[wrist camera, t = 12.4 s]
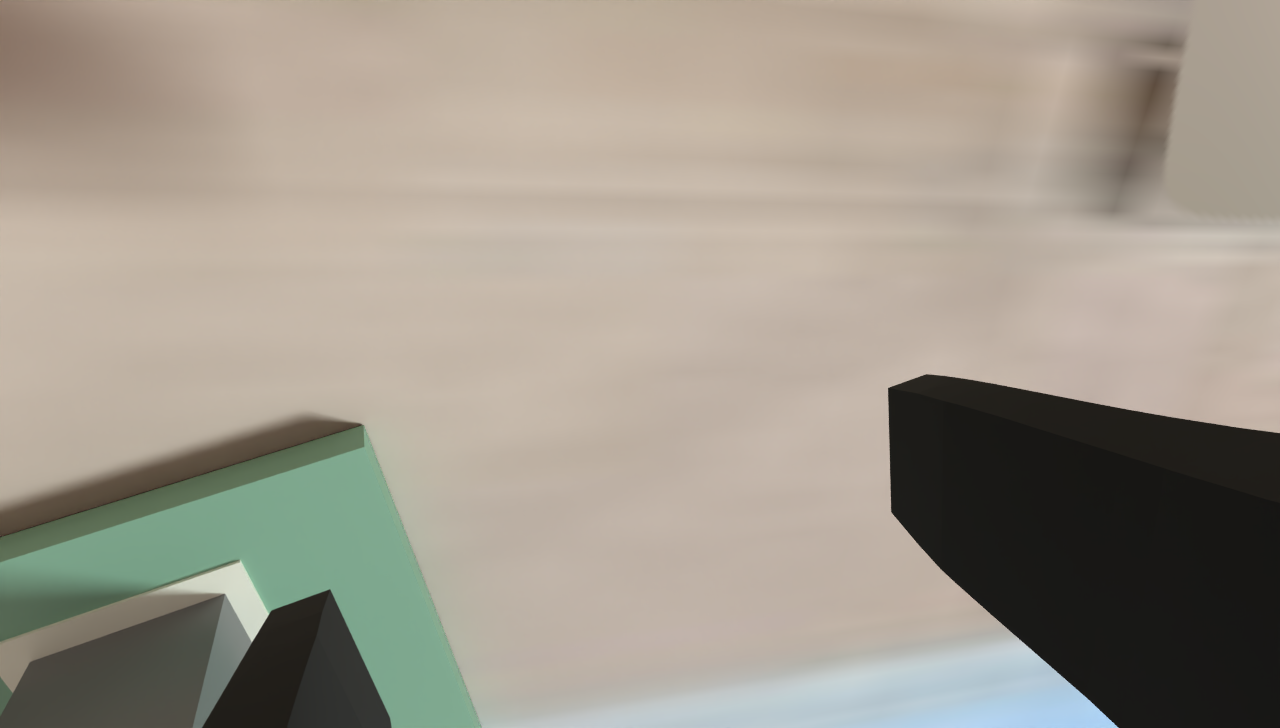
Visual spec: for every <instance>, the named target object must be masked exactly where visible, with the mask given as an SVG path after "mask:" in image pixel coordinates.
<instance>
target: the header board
mask: <svg viewBox="0 0 1280 728" xmlns="http://www.w3.org/2000/svg"><path fill="white" fill-rule="evenodd" d="M329 589H330V590H331V592H332V594H333V596H334V598H335V601H336V603H337V605H338V607H339V609H340V611H341V613H342V616H343V618H344V620H345V622H346V624H347V626H348V628H349V631H350V633H351V635H352V637H353V639H354V641H355V643H356V646H357V648H358V650H359V652H360V654H361V656H362V659H363V661H364V663H365V665H366V667H367V669H368V671H369V674H370V676H371V678H372V680H373V682H374V684H375V686H376V689H377V691H378V693H379V695H380V697H381V699H382V702H383V704H384V706H385V708H386V710H387V712H388V714H389V717H390V720H391V727H392V728H481V725H480V722H479V720H478V717H477V715H476V712H475V710H474V707H473V704H472V702H471V699H470V697H469V694H468V692H467V689H466V686H465V684H464V681H463V679H462V676H461V674H460V671H459V668H458V666H457V663H456V661H455V658H454V656H453V653H452V650H451V648H450V645H449V643H448V640H447V638H446V635H445V632H444V630H443V627H442V625H441V622H440V620H439V617H438V615H437V612H436V609H435V607H434V604H433V602H432V599H431V597H430V594H429V591H428V589H427V586H426V584H425V581H424V579H423V576H422V573H421V571H420V568H419V566H418V563H417V561H416V558H415V555H414V553H413V550H412V548H411V545H410V543H409V540H408V537H407V535H406V532H405V530H404V527H403V525H402V522H401V519H400V517H399V514H398V512H397V509H396V507H395V504H394V502H393V499H392V496H391V494H390V491H389V489H388V486H387V484H386V481H385V478H384V476H383V473H382V471H381V468H380V466H379V463H378V460H377V458H376V455H375V453H374V450H373V448H372V445H371V442H370V440H369V437H368V435H367V432H366V430H365V427H364V425H362V426H358V427H355V428H352V429H349V430H346V431H342V432H339V433H336V434H333V435H329V436H326V437H323V438H320V439H316V440H313V441H310V442H307V443H304V444H300V445H297V446H294V447H291V448H287V449H284V450H281V451H278V452H274V453H271V454H268V455H265V456H262V457H258V458H255V459H252V460H249V461H245V462H242V463H239V464H236V465H232V466H229V467H226V468H223V469H220V470H216V471H213V472H210V473H207V474H203V475H200V476H197V477H194V478H190V479H187V480H184V481H181V482H178V483H174V484H171V485H168V486H165V487H161V488H158V489H155V490H152V491H148V492H145V493H142V494H139V495H136V496H132V497H129V498H126V499H123V500H119V501H116V502H113V503H110V504H106V505H103V506H100V507H97V508H94V509H90V510H87V511H84V512H81V513H77V514H74V515H71V516H68V517H64V518H61V519H58V520H55V521H52V522H48V523H45V524H42V525H39V526H35V527H32V528H29V529H26V530H22V531H19V532H16V533H13V534H10V535H6V536H3V537H0V716H1V714H2V712H3V710H4V709H5V707H6V705H7V703H8V701H9V699H10V698H11V696H12V694H13V692H14V690H15V688H16V687H17V685H18V683H19V681H20V679H21V677H22V676H23V674H24V672H25V670H26V668H27V666H28V665H29V663H30V662H31V661H34V660H37V659H40V658H42V657H45V656H48V655H51V654H54V653H57V652H60V651H63V650H65V649H68V648H71V647H74V646H77V645H80V644H83V643H85V642H88V641H91V640H94V639H97V638H100V637H103V636H105V635H108V634H111V633H114V632H117V631H120V630H123V629H126V628H128V627H131V626H134V625H137V624H140V623H143V622H146V621H148V620H151V619H154V618H157V617H160V616H163V615H166V614H168V613H171V612H174V611H177V610H180V609H183V608H186V607H188V606H191V605H194V604H197V603H200V602H203V601H206V600H209V599H211V598H214V597H217V596H220V595H223V594H226V596H227V598H228V600H229V602H230V603H231V605H232V607H233V609H234V611H235V613H236V614H237V616H238V618H239V620H240V622H241V623H242V625H243V627H244V629H245V631H246V633H247V634H248V636H249V638H250V640H251V642H253V640H254V638H255V637H256V635H257V633H258V632H259V630H260V628H261V627H262V625H263V623H264V622H265V620H266V619H267V617H268V615H269V614H270V612H271V610H274V609H276V608H279V607H282V606H285V605H288V604H290V603H293V602H296V601H299V600H301V599H304V598H307V597H310V596H312V595H315V594H318V593H321V592H324V591H326V590H329Z"/></svg>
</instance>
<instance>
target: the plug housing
mask: <svg viewBox="0 0 1280 728" xmlns="http://www.w3.org/2000/svg"><path fill="white" fill-rule="evenodd" d="M251 643H252V642H251V640H250V638H249V636H248V634H247V633H246V631H245V629H244V627H243V625H242V623H241V622H240V620H239V618H238V616H237V614H236V613H235V611H234V609H233V607H232V605H231V603H230V602H229V600H228V598H227V596H226V594H223V595H220V596H217V597H214V598H211V599H209V600H206V601H203V602H200V603H197V604H194V605H191V606H188V607H186V608H183V609H180V610H177V611H174V612H171V613H168V614H166V615H163V616H160V617H157V618H154V619H151V620H148V621H146V622H143V623H140V624H137V625H134V626H131V627H128V628H126V629H123V630H120V631H117V632H114V633H111V634H108V635H105V636H103V637H100V638H97V639H94V640H91V641H88V642H85V643H83V644H80V645H77V646H74V647H71V648H68V649H65V650H63V651H60V652H57V653H54V654H51V655H48V656H45V657H42V658H40V659H37V660H34V661H31V662H30V663H29V665H28V666H27V668H26V670H25V672H24V674H23V676H22V677H21V679H20V681H19V683H18V685H17V687H16V688H15V690H14V692H13V694H12V696H11V698H10V699H9V701H8V703H7V705H6V707H5V709H4V710H3V712H2V714H1V716H0V728H202V727H203V725H204V723H205V722H206V720H207V718H208V717H209V715H210V713H211V711H212V710H213V708H214V706H215V705H216V703H217V701H218V700H219V698H220V696H221V694H222V693H223V691H224V689H225V688H226V686H227V684H228V683H229V681H230V679H231V677H232V676H233V674H234V672H235V671H236V669H237V667H238V665H239V664H240V662H241V660H242V659H243V657H244V655H245V653H246V652H247V650H248V648H249V647H250V645H251Z"/></svg>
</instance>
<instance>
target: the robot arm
mask: <svg viewBox="0 0 1280 728" xmlns="http://www.w3.org/2000/svg"><path fill="white" fill-rule="evenodd" d="M888 401H889V439H890V478H891V512H892V514H893V515H894V516H895V517H896V518H897V519H898V521H899V522H900V523H901V524H902V525H903V527H904V528H905V529H906V530H907V531H908V533H909V534H910V535H911V536H912V537H913V539H914V540H915V541H916V542H917V543H918V544H919V546H920V547H921V548H922V549H923V550H924V551H925V552H926V553H927V554H928V555H929V557H930V558H931V559H932V560H933V561H934V562H935V563H936V564H937V565H938V566H939V568H940V569H941V570H942V571H943V572H945V573H946V574H947V575H948V576H949V577H950V578H951V579H952V580H953V581H954V582H955V583H957V584H958V585H959V586H960V587H961V588H962V589H963V590H964V591H965V592H967V593H968V594H969V595H970V596H971V597H972V598H973V599H974V600H976V601H977V602H978V603H979V604H980V605H981V606H982V607H983V608H985V609H986V610H987V611H988V612H989V613H990V614H991V615H992V616H994V617H995V618H996V619H997V620H998V621H999V622H1001V623H1002V624H1003V625H1004V626H1005V627H1006V628H1007V629H1009V630H1010V631H1011V632H1012V633H1013V634H1014V635H1015V636H1017V637H1018V638H1019V639H1020V640H1021V641H1022V642H1023V643H1025V644H1026V645H1027V646H1028V647H1029V648H1030V649H1031V650H1033V651H1034V652H1035V653H1036V654H1037V655H1038V656H1040V657H1041V658H1042V659H1043V660H1044V661H1045V662H1046V663H1048V664H1049V665H1050V666H1051V667H1052V668H1053V669H1054V670H1056V671H1057V672H1058V673H1059V674H1060V675H1061V676H1062V677H1064V678H1065V679H1066V680H1067V681H1068V682H1069V683H1070V684H1072V685H1073V686H1074V687H1075V688H1076V689H1077V690H1078V691H1080V692H1081V693H1082V694H1083V695H1084V696H1085V697H1086V698H1088V699H1089V700H1090V701H1091V702H1092V703H1093V704H1094V705H1095V706H1096V707H1097V708H1098V709H1099V710H1100V711H1101V712H1103V713H1104V714H1105V715H1106V716H1107V717H1108V718H1109V719H1110V720H1111V721H1112V722H1113V723H1114V724H1115V725H1116V726H1117V727H1118V728H1280V433H1274V432H1266V431H1258V430H1251V429H1243V428H1236V427H1230V426H1223V425H1217V424H1211V423H1204V422H1198V421H1191V420H1185V419H1179V418H1172V417H1166V416H1160V415H1155V414H1149V413H1143V412H1138V411H1132V410H1127V409H1121V408H1116V407H1110V406H1105V405H1100V404H1095V403H1089V402H1084V401H1079V400H1074V399H1069V398H1064V397H1059V396H1053V395H1048V394H1043V393H1038V392H1033V391H1028V390H1023V389H1018V388H1012V387H1007V386H1002V385H997V384H991V383H985V382H980V381H974V380H968V379H961V378H955V377H947V376H938V375H927V374H926V375H923V376H920V377H918V378H915V379H912V380H909V381H907V382H904V383H901V384H898V385H895V386H893V387H890V388H888ZM202 728H392V727H391V720H390V717H389V714H388V712H387V710H386V708H385V706H384V704H383V702H382V699H381V697H380V695H379V693H378V691H377V689H376V686H375V684H374V682H373V680H372V678H371V676H370V674H369V671H368V669H367V667H366V665H365V663H364V661H363V659H362V656H361V654H360V652H359V650H358V648H357V646H356V643H355V641H354V639H353V637H352V635H351V633H350V631H349V628H348V626H347V624H346V622H345V620H344V618H343V616H342V613H341V611H340V609H339V607H338V605H337V603H336V601H335V598H334V596H333V594H332V592H331V590H330V589H329V590H326V591H324V592H321V593H318V594H315V595H312V596H310V597H307V598H304V599H301V600H299V601H296V602H293V603H290V604H288V605H285V606H282V607H279V608H276V609H274V610H271V612H270V614H269V615H268V617H267V619H266V620H265V622H264V623H263V625H262V627H261V628H260V630H259V632H258V633H257V635H256V637H255V638H254V640H253V642H252V643H251V645H250V647H249V648H248V650H247V652H246V653H245V655H244V657H243V659H242V660H241V662H240V664H239V665H238V667H237V669H236V671H235V672H234V674H233V676H232V677H231V679H230V681H229V683H228V684H227V686H226V688H225V689H224V691H223V693H222V694H221V696H220V698H219V700H218V701H217V703H216V705H215V706H214V708H213V710H212V711H211V713H210V715H209V717H208V718H207V720H206V722H205V723H204V725H203V727H202Z"/></svg>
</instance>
